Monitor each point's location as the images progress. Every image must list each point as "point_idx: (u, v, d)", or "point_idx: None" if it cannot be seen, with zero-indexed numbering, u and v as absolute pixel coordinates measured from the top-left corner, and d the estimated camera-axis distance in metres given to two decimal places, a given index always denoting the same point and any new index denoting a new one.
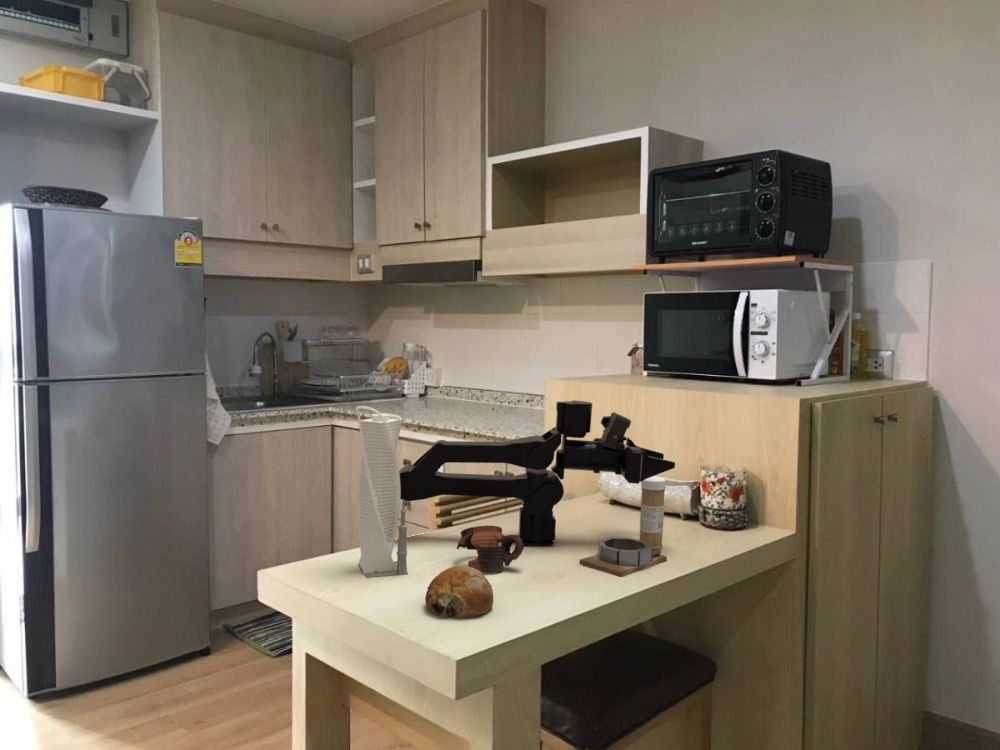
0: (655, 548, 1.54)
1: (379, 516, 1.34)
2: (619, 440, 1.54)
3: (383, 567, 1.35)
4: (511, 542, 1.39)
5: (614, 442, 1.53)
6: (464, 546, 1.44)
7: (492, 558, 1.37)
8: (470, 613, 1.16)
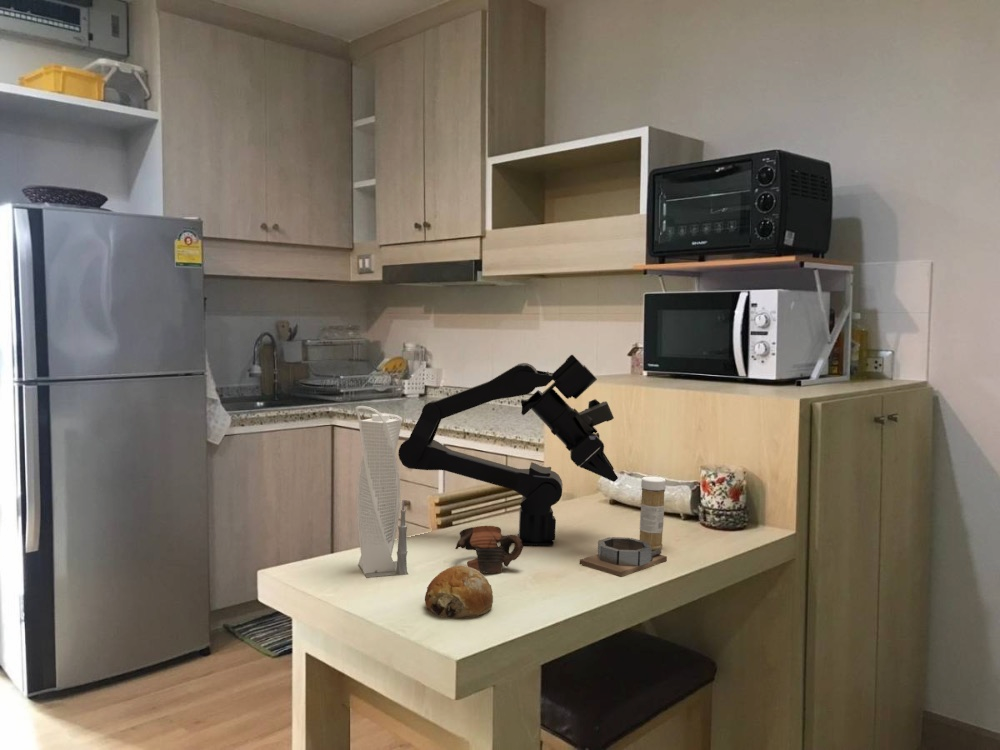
0: (655, 548, 1.54)
1: (379, 516, 1.34)
2: (591, 424, 1.53)
3: (383, 567, 1.35)
4: (510, 542, 1.39)
5: (586, 422, 1.52)
6: (463, 546, 1.43)
7: (491, 558, 1.37)
8: (470, 613, 1.16)
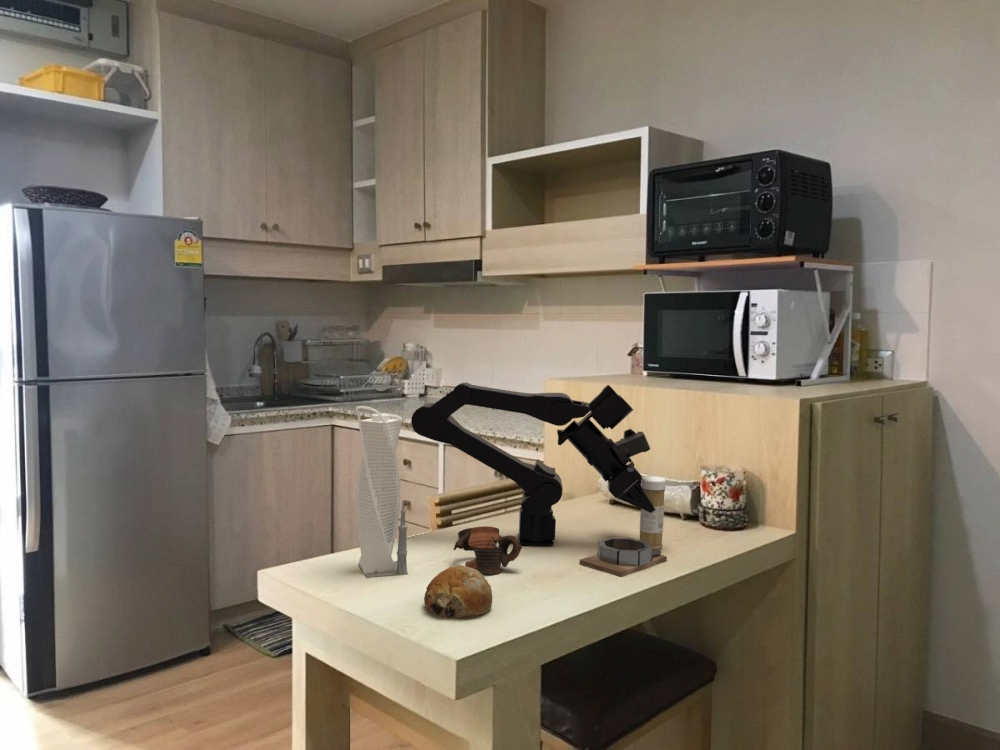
0: (655, 548, 1.54)
1: (379, 516, 1.34)
2: (628, 455, 1.53)
3: (383, 567, 1.35)
4: (508, 543, 1.39)
5: (623, 453, 1.52)
6: (461, 547, 1.43)
7: (490, 559, 1.36)
8: (469, 613, 1.16)
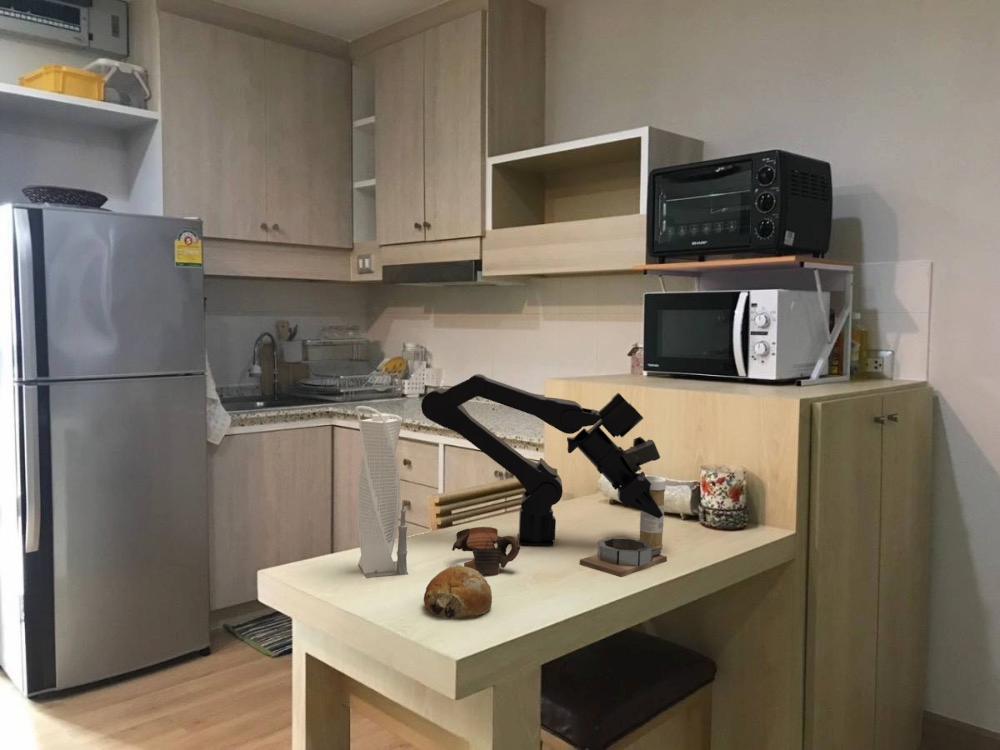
0: (655, 548, 1.54)
1: (379, 516, 1.34)
2: (638, 463, 1.53)
3: (383, 567, 1.35)
4: (507, 543, 1.38)
5: (633, 461, 1.52)
6: (459, 548, 1.43)
7: (488, 559, 1.36)
8: (469, 614, 1.16)
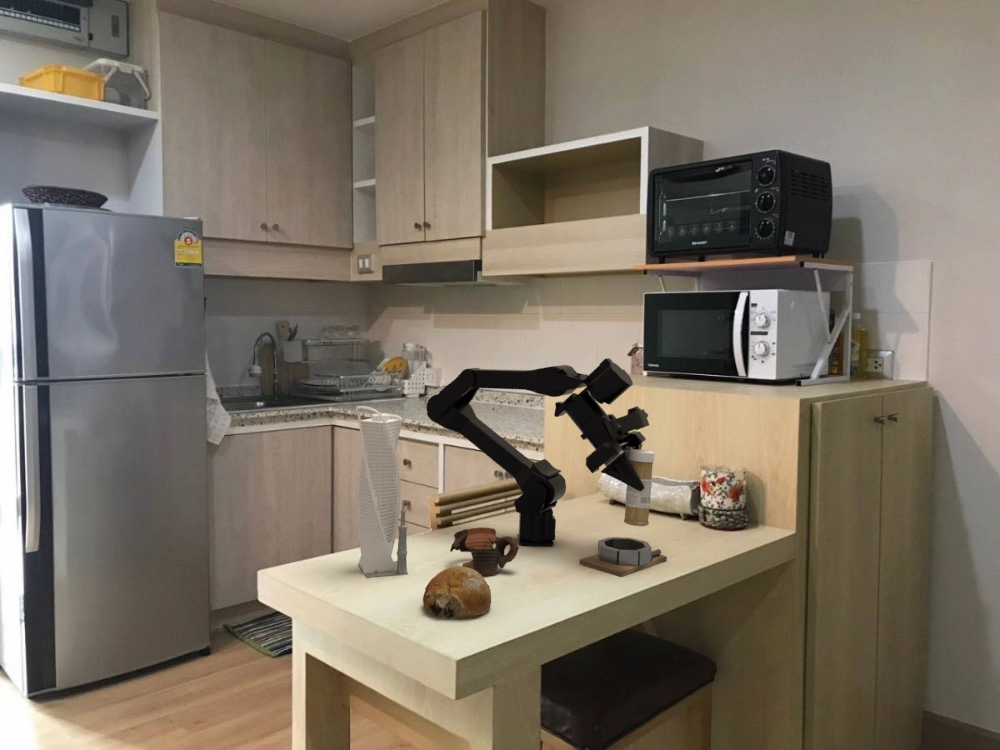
0: (636, 524, 1.45)
1: (379, 516, 1.34)
2: (620, 432, 1.46)
3: (383, 567, 1.35)
4: (505, 544, 1.38)
5: (614, 429, 1.46)
6: (457, 548, 1.42)
7: (487, 560, 1.36)
8: (468, 614, 1.16)
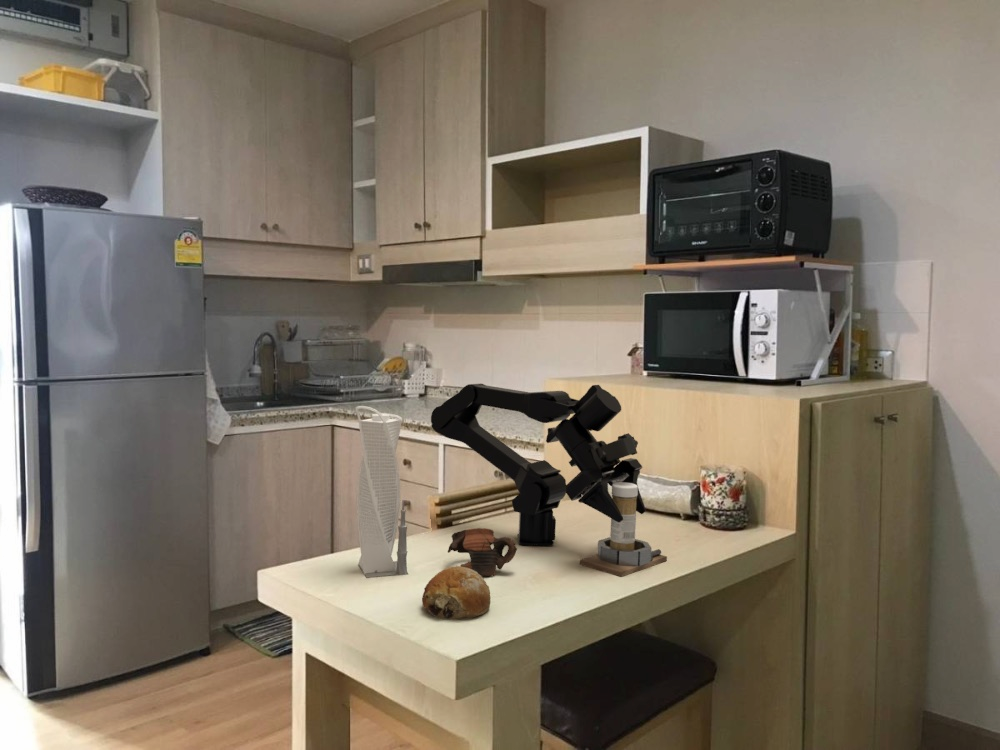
0: None
1: (379, 516, 1.34)
2: (605, 459, 1.45)
3: (383, 567, 1.35)
4: (503, 545, 1.37)
5: (599, 456, 1.45)
6: (455, 549, 1.42)
7: (485, 561, 1.35)
8: (467, 614, 1.16)
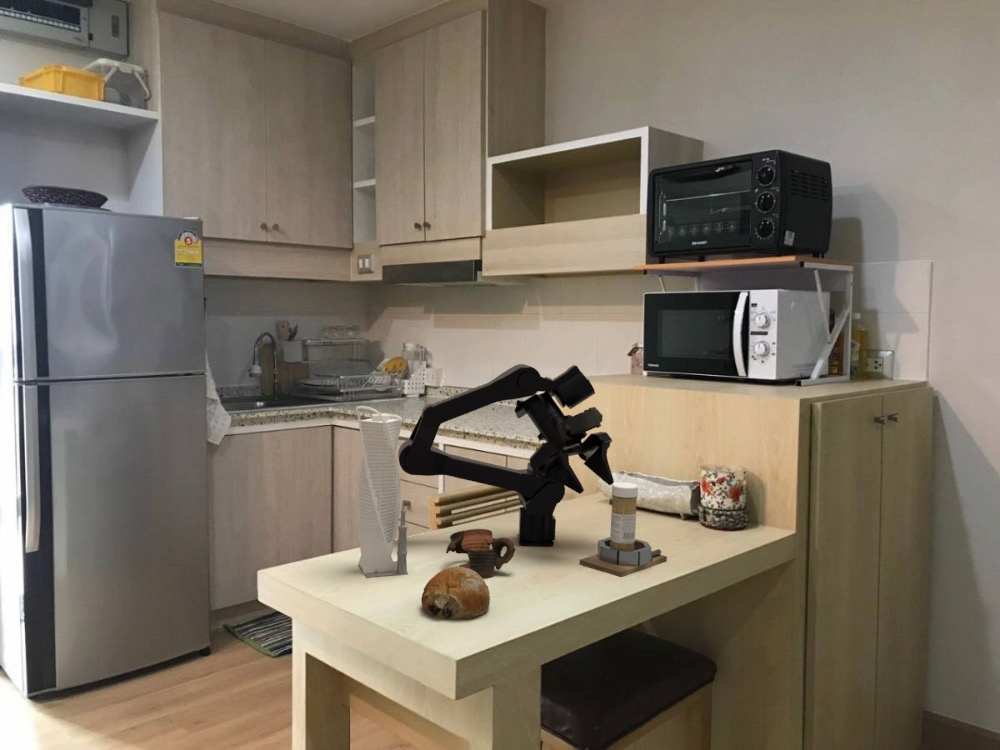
0: None
1: (379, 516, 1.34)
2: (569, 432, 1.48)
3: (383, 567, 1.35)
4: (502, 545, 1.37)
5: (563, 430, 1.48)
6: (453, 550, 1.41)
7: (484, 562, 1.35)
8: (467, 614, 1.16)
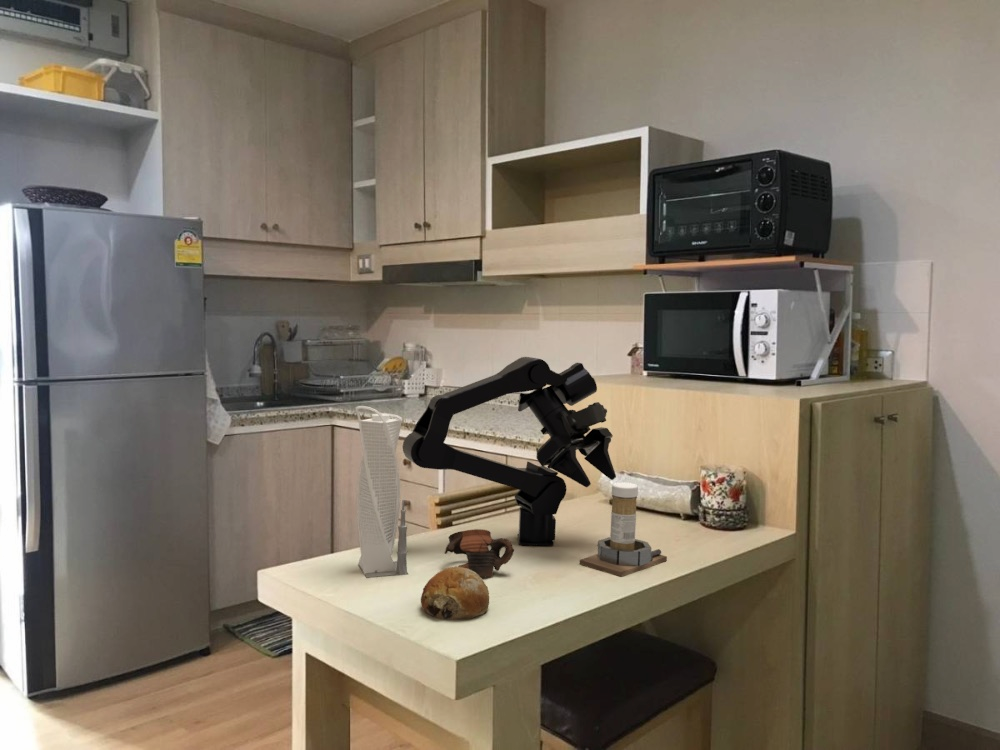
0: None
1: (379, 516, 1.34)
2: (575, 426, 1.49)
3: (383, 567, 1.35)
4: (501, 546, 1.37)
5: (569, 424, 1.49)
6: (452, 551, 1.41)
7: (482, 562, 1.34)
8: (466, 615, 1.16)
